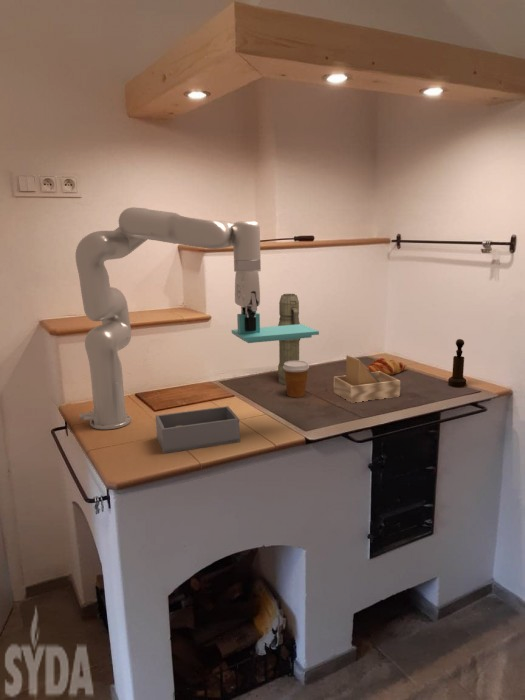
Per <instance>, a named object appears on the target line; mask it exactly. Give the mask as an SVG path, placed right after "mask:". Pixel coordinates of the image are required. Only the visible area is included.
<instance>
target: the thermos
mask: <svg viewBox="0 0 525 700" xmlns="http://www.w3.org/2000/svg"><path fill="white" fill-rule="evenodd" d="M278 304H279V306H278V307H279V308H278V309H279V311H278V312H279V313H278V314H279V319H278V321H279V322H278V324H277V326H284V325H297V324H301V323H300V317H299V315H300V300H299V297H298V295H297V294H295V293H283V294H282V295H281V296H280V298H279V302H278ZM300 341H301V338H300V339H289V340H278V342H279V344H278V347H279V351H278V354H279V355H278V356H279V359H278V360H279V362H278V365H277V376H278V384H279V383H280V384H279V385H283V386H286V380H285V372H284V368H283V366H284V363H285V362H287V361H300Z"/></svg>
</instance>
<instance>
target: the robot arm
mask: <svg viewBox="0 0 525 700" xmlns="http://www.w3.org/2000/svg"><path fill="white" fill-rule="evenodd" d="M148 240H150V241H156V242H163V243H170V244H173V245H174V244H175V245H183V246H188V247H195V248H203V249H208V250H219V249H224V248H232V247H233V268H234V269H233V271H234V272H235V277H234V302H235V304H236V305H237V306H239V307H240V314H245V313H246V317H245V331H256V313H257V311H258V307H259V306H260V304H261V287H260V286H261V285H260V275H259V272H261V270H262V269H261V265H262V263H261V226H260V224H259V222H257V221H255V220H246V221H245V220H244V221H242V220H241V221H236V222H232V221H225V220H211V219H208V220H207V219H199V218H195V217H188V216H187V217H186V216H183V215H181V214H179V213H176V212H172V211H171V212H170V211H163V210H155V209H148V208H146V207H145V208H144V207H134V206H133V207H128V208H126V209H124V210H122V212H121V213H120V215H119V216H118V227H116V228H115V229H114V230H98V231H93V232H91V233H89V234H87V235H85V236H84V237H82V239H81V240H80V241H79V243H78V244H77V246H76V249H75V256H74V257H75V264H76V269H77V274H78V278H79V287H80V294H81V297H82V298H81V299H82V304H83V306H82V307H83V310H84V315H85V316H86V317H87V318H88V319H89V320H90V321H92V322H101V324H99V325H97V326H95V327H93V328H92V329H90V330H89V331H88V332H87V334H86V337H85V338H84V339H85V340H84V347H85V352H86V355H87V359H88V364H89V372H90V380H91V391H92V401H93V408H92V411H89V412H87V413H86V412H83V413H79V414H78V415H79V416H78V417H79V420H82V421H83V422H87V421H89V425H90V427H91V428H93V429H96V430H113V429H115V430H116V429H119V428H122V427H124V426H128V425H129V424H130V423H131V422H132V416H131V415H129V414H127V413H126V404H125V403H126V402H125V390H124V376H123V368H122V363H121V359H120V357H119V353H118V352H119V351H120V350H123V349H124V348H126V347H127V346H128V345H129V343H130V342H131V338H132V328H131V321H130V312H129V306H128V302H127V299H126V296H125V294H124V293H123V292H122V291H121V290H119V288H117V287H112V286H111V284H110V275H109V273H108V270H107V268H106V266H105V262H106V261H109V260H117V259H123V258H125V257H126V256H128V255H130V254H132V252H134V251H135V250H136V249H138V248H139V247H140V246H141V245H142V244H144V243H145V242H147V241H148Z"/></svg>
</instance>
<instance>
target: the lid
mask: <svg viewBox="0 0 525 700" xmlns="http://www.w3.org/2000/svg"><path fill="white" fill-rule="evenodd" d="M236 316H237V317H236V318H237V328H236V329H235V328H234V329H231V334H232V335H234V336H235V337H237V338H238V339H241V340H242V341H243V342H246V343H248V344H253V343H263V342H266V343H267V342H277V341H278V342H279V340H289V339H300V340H301V339H309V338H312V337H313V336H317V335H318V336H319V335H320V331H319V330H316V329H315V328H311V327H310V326H308V325H305V324H303V323H300V324H297V325H284V326H278V325H276V326H275V325H274V326H273V325H272V326H263V327H262V326H261V320H260V318H261V317H260V316H261V315H260V313H259V312H256V331H245V317H246V313H245V314H241V313H237V315H236Z"/></svg>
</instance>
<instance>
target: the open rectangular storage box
mask: <svg viewBox="0 0 525 700" xmlns="http://www.w3.org/2000/svg"><path fill="white" fill-rule="evenodd" d="M371 373H372V374H373V375H374V376H375V377H376V378H377V379H378V380H379V381H380V383H372V384H364V385H356V386H352V385H350V384H348V383H347V382H346V374H345V375H337V376H333V393H334V394H335V395H338V396H339V397H340V396H341V398H342V399H343V400H345V399H346V401H347V402H348V403H350V402H351V403H350V404H356V403H355V402H357V403H363V402H362V401H364V402H369V401H368V400H372V401H376V400H375V399H379V400H384V398H386V399H392V398H400V397H399V396H401V380H399V379H398V378H396V377H393V376H392V375H387V374H385V373H383V372H381V371H378V372H371Z"/></svg>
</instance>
